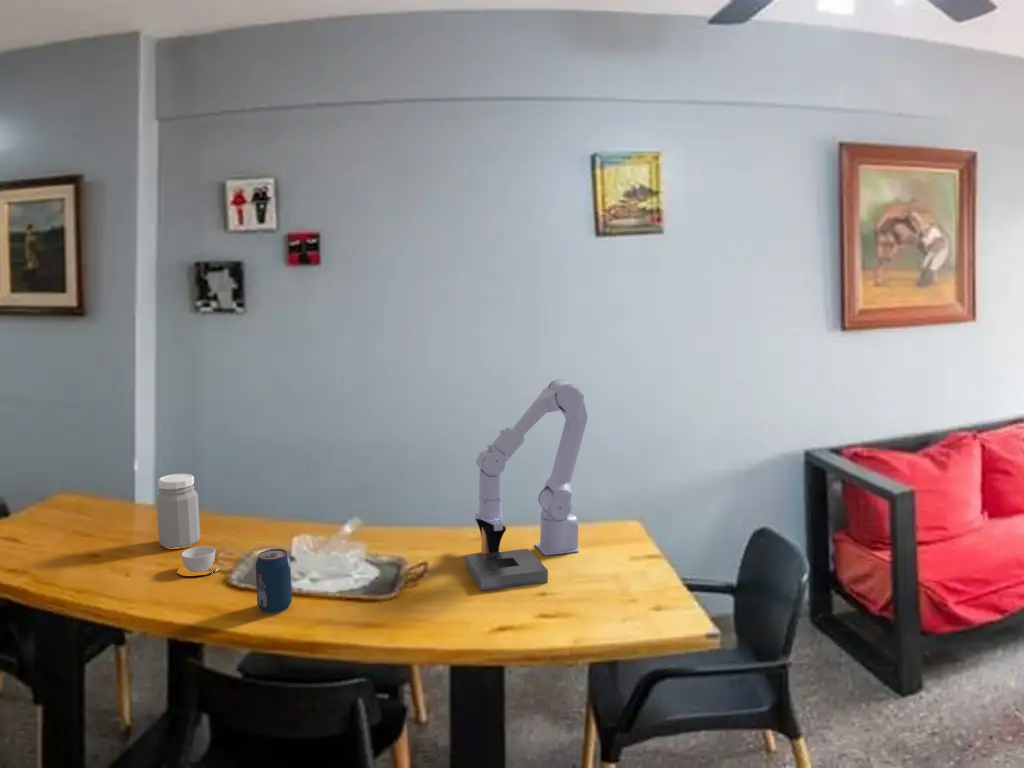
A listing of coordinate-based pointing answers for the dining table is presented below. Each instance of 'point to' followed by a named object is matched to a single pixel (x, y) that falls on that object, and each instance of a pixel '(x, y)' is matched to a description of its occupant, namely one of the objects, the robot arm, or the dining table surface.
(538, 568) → the gray block with hole
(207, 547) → the teacup
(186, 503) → the jar
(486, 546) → the peach rectangular block
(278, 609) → the soda can
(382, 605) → the dining table surface
